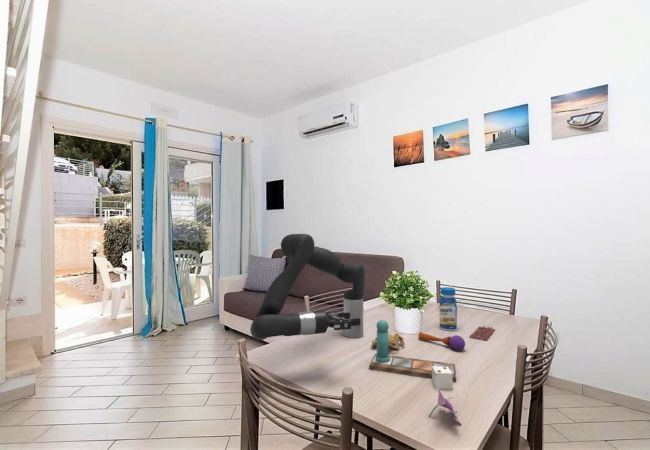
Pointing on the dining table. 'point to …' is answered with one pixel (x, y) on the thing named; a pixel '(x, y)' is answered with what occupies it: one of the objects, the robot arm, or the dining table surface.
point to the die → (442, 377)
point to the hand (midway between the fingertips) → (354, 318)
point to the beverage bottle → (448, 309)
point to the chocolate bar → (482, 333)
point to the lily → (444, 402)
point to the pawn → (382, 342)
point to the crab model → (392, 341)
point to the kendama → (445, 340)
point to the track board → (410, 366)
